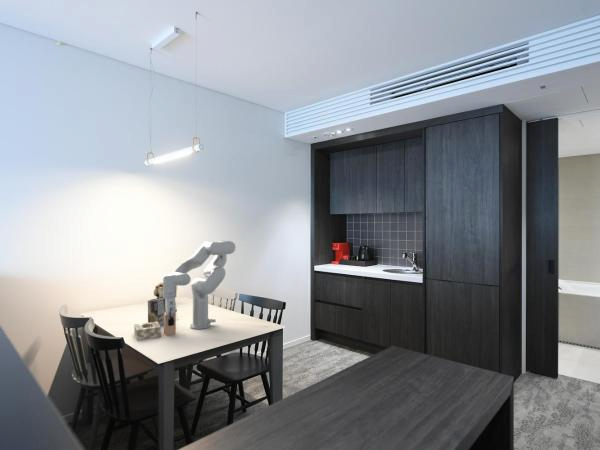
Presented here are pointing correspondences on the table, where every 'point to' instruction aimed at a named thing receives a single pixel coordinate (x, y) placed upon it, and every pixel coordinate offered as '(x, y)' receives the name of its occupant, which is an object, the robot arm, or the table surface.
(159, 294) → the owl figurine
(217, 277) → the robot arm
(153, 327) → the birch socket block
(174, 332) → the terracotta peg
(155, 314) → the coffee box
